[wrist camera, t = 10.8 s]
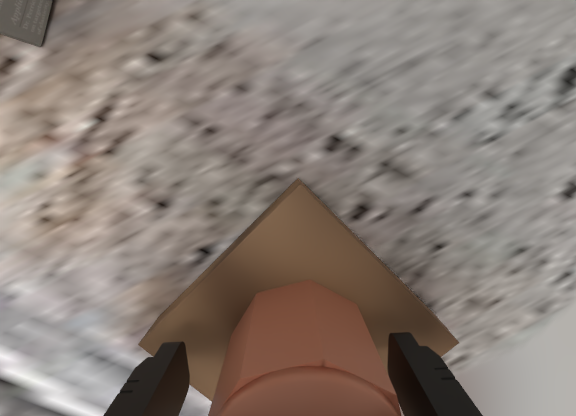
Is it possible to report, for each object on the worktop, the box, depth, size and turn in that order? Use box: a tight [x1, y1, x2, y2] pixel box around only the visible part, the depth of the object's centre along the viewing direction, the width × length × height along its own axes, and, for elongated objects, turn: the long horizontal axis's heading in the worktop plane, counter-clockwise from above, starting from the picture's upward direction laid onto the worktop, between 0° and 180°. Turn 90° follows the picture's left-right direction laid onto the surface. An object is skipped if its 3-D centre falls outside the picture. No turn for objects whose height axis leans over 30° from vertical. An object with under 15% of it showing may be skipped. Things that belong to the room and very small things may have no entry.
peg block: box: [138, 178, 459, 401], centre depth 12 cm, size 10×10×6 cm
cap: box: [208, 280, 401, 416], centre depth 10 cm, size 6×6×5 cm
